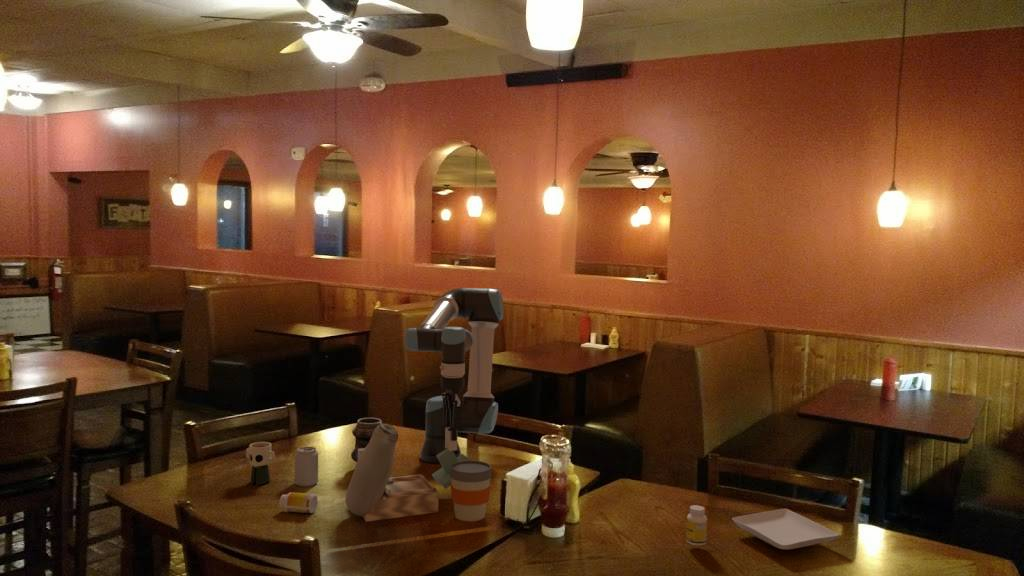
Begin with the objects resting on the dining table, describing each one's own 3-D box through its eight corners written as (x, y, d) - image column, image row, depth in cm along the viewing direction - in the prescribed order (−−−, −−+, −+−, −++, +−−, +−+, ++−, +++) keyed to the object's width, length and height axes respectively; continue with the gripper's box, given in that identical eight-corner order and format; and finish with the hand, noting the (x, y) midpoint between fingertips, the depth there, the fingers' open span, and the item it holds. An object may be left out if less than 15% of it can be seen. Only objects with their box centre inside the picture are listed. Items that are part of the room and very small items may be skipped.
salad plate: (782, 556, 198) (782, 544, 198) (729, 527, 218) (730, 516, 218) (840, 545, 207) (841, 533, 207) (785, 518, 226) (785, 507, 226)
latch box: (422, 494, 238) (422, 473, 238) (438, 512, 224) (438, 489, 223) (354, 503, 229) (354, 481, 229) (365, 521, 215) (365, 497, 214)
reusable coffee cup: (459, 526, 213) (460, 475, 212) (442, 511, 224) (443, 463, 223) (498, 519, 219) (499, 469, 218) (480, 505, 230) (481, 458, 229)
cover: (464, 457, 245) (453, 437, 243) (477, 466, 234) (465, 446, 232) (433, 478, 241) (422, 458, 239) (445, 488, 230) (433, 467, 228)
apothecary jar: (391, 472, 260) (392, 421, 259) (359, 477, 254) (359, 426, 252) (377, 463, 270) (377, 414, 269) (345, 468, 264) (346, 418, 262)
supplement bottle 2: (683, 538, 208) (684, 504, 208) (702, 538, 209) (703, 504, 208) (689, 546, 203) (691, 511, 202) (708, 546, 204) (710, 511, 203)
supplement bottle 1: (317, 490, 222) (284, 487, 223) (310, 501, 217) (276, 498, 218) (319, 505, 224) (286, 503, 225) (312, 517, 219) (279, 514, 220)
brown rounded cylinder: (379, 515, 221) (412, 431, 218) (360, 525, 212) (394, 437, 208) (353, 499, 225) (385, 416, 221) (333, 508, 215) (366, 421, 212)
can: (321, 481, 249) (321, 446, 248) (313, 488, 242) (313, 452, 241) (299, 479, 250) (300, 444, 249) (291, 487, 242) (291, 451, 242)
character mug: (239, 484, 244) (239, 445, 243) (253, 478, 251) (253, 440, 250) (267, 488, 241) (267, 449, 240) (280, 481, 247) (280, 443, 247)
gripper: (433, 372, 241) (432, 443, 242) (449, 380, 227) (447, 456, 228) (455, 371, 244) (454, 441, 245) (472, 379, 230) (470, 454, 231)
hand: (451, 448), depth 237 cm, fingers closed on cover, 2 cm apart
